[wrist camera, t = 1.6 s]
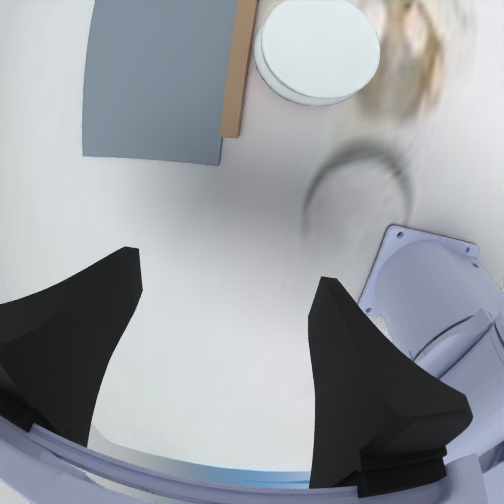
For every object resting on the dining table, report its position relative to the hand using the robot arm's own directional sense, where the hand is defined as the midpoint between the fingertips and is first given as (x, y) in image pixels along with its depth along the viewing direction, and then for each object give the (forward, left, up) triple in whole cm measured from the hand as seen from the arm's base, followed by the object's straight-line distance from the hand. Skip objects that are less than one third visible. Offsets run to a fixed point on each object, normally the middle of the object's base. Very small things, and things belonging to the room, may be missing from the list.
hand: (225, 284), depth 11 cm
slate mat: (+7, -9, -9) cm, 15 cm away
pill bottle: (-2, -9, -10) cm, 13 cm away
